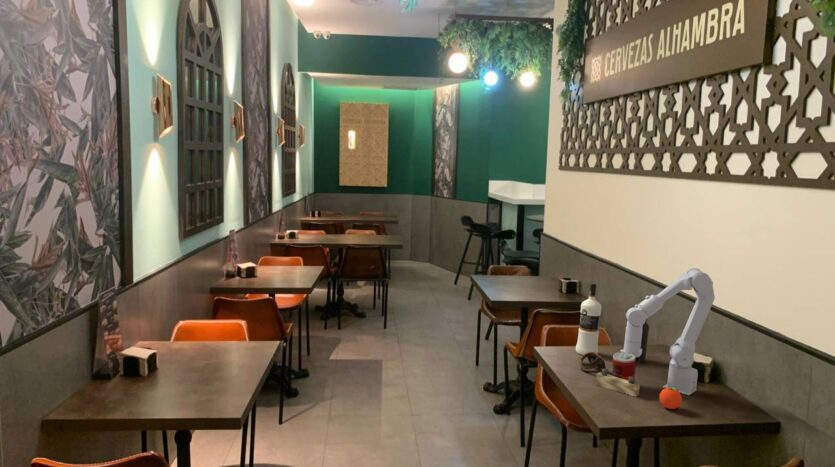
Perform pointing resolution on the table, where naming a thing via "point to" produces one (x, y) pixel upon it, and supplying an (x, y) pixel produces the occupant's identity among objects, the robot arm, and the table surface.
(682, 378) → the robot arm
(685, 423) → the table surface
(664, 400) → the clementine
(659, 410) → the table surface
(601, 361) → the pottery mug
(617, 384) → the maple stop bar
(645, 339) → the bottle
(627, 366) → the canned food
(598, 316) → the vodka
